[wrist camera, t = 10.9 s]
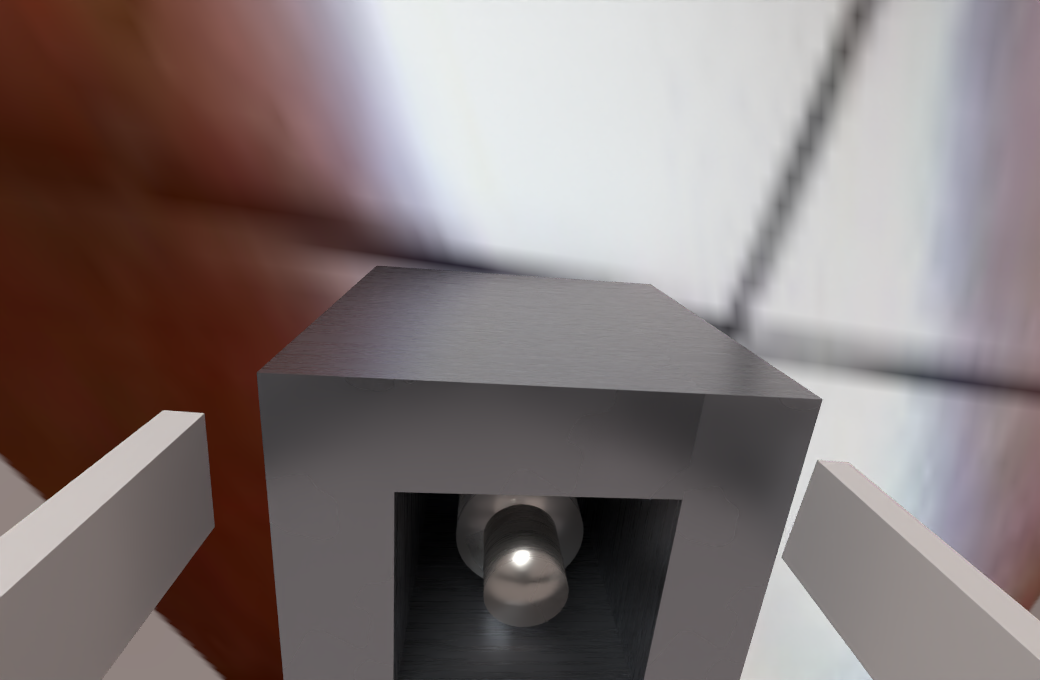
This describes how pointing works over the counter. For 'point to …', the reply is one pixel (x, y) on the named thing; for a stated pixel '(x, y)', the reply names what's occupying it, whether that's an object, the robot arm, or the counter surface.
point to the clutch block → (523, 477)
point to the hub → (520, 552)
